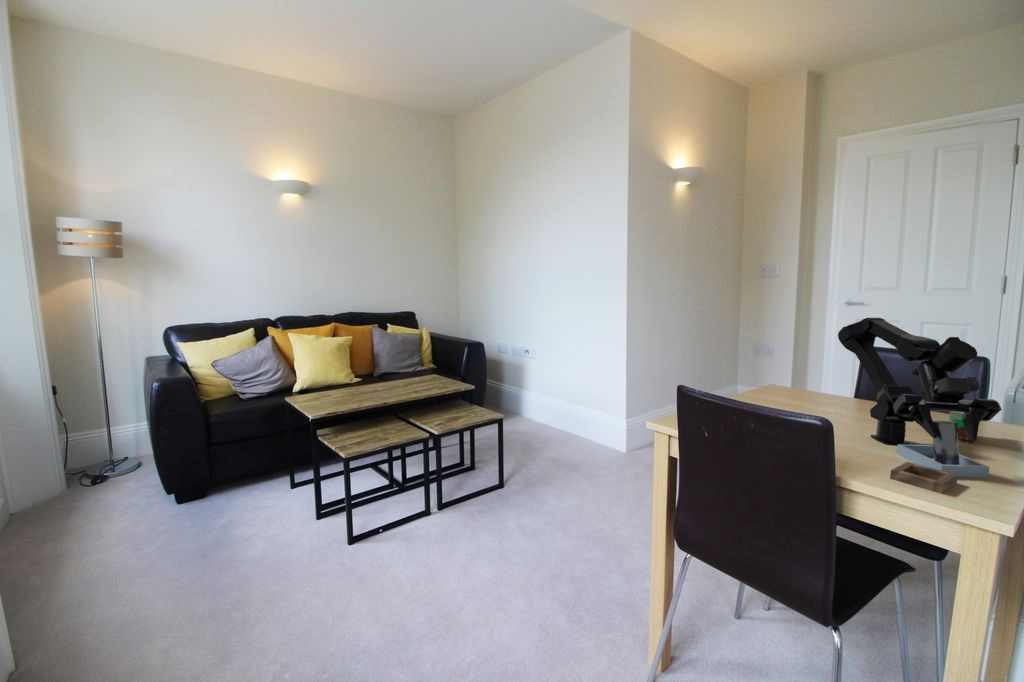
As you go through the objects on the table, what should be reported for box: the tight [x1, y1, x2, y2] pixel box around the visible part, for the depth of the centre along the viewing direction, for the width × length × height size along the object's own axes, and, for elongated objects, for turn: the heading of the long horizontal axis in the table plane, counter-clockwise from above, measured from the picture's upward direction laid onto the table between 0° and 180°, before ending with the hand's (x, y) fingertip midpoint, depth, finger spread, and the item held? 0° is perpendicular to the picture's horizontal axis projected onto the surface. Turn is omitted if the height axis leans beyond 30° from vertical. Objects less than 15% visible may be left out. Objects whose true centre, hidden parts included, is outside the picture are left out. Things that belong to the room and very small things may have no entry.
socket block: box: [889, 461, 959, 495], centre depth 107 cm, size 9×9×3 cm
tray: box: [896, 444, 990, 479], centre depth 116 cm, size 14×10×4 cm
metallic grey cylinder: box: [932, 420, 960, 465], centre depth 113 cm, size 4×4×11 cm
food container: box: [949, 399, 975, 444], centre depth 138 cm, size 12×6×10 cm, turn 141°
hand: (954, 439), depth 110 cm, fingers open, 7 cm apart
